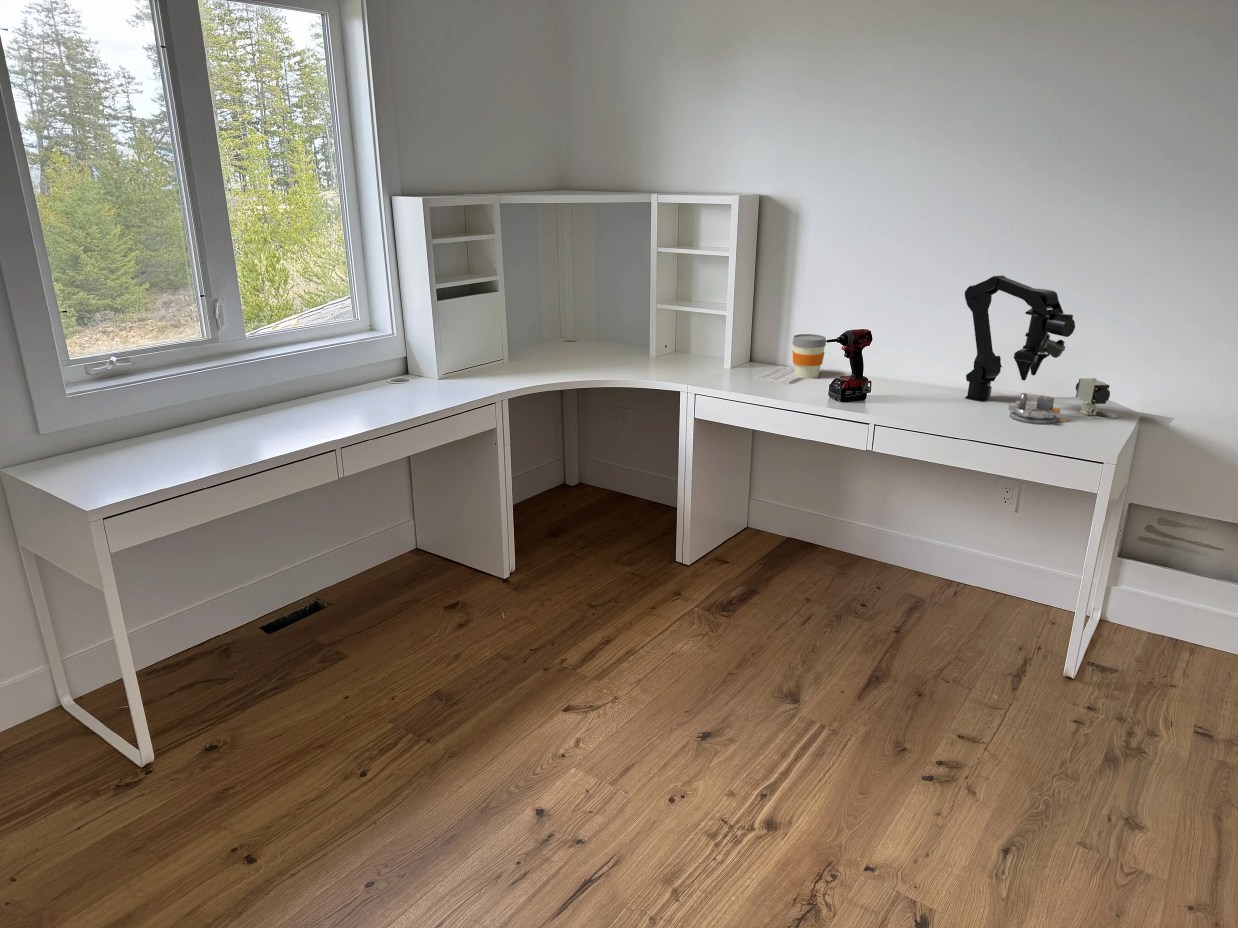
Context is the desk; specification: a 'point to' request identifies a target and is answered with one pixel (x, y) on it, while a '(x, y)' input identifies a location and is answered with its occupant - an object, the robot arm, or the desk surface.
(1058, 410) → the sprocket
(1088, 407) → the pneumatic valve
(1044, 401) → the banded grey cube
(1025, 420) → the plinth
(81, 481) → the desk surface
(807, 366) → the reusable coffee cup
